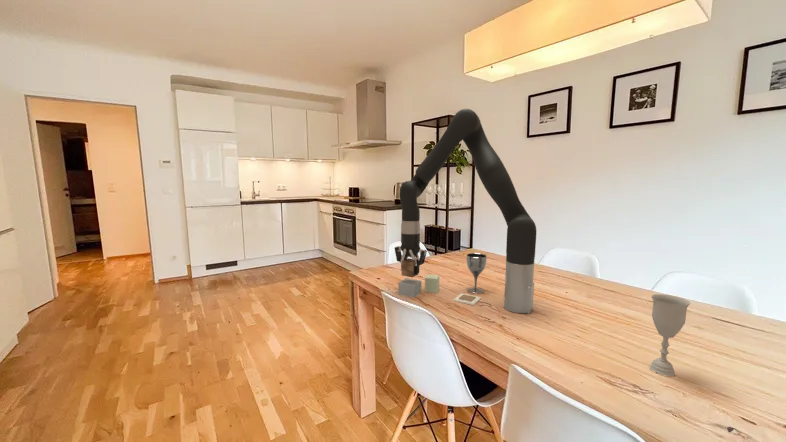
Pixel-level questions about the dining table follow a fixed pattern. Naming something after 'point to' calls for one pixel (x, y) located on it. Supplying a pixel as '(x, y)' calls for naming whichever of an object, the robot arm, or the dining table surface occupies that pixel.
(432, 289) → the sage block
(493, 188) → the robot arm
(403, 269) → the walnut block
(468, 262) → the wine glass
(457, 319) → the dining table surface
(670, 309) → the chalice
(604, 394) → the dining table surface
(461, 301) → the tile
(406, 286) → the grey base block
